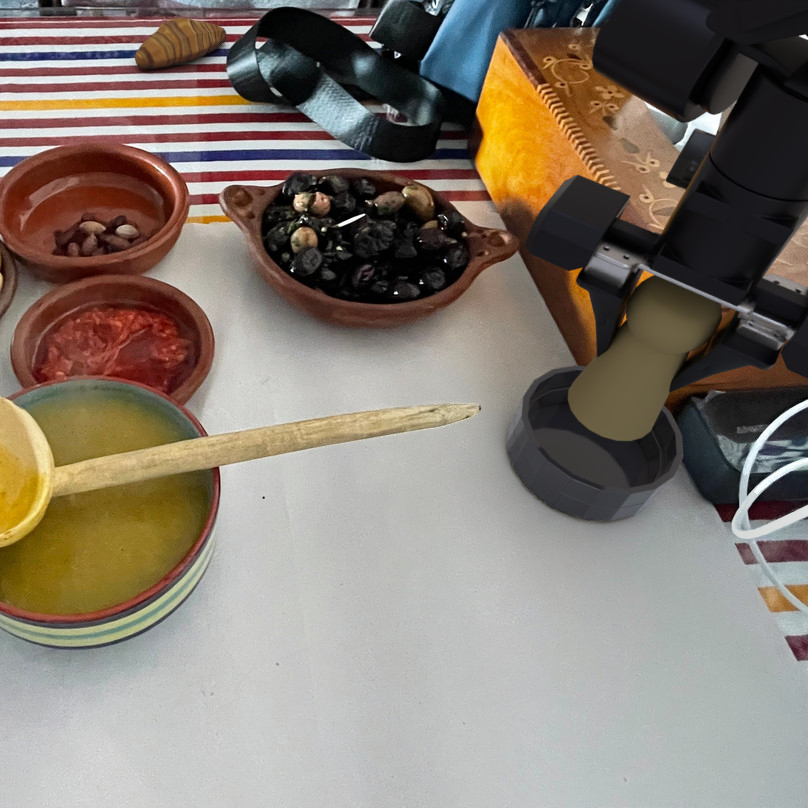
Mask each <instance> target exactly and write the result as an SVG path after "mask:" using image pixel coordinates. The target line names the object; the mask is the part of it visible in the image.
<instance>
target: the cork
mask: <svg viewBox="0 0 808 808" xmlns="http://www.w3.org/2000/svg"><path fill="white" fill-rule="evenodd" d="M722 319H723V310H722V304H720V303H718V302H716V301H713V300H711V299H709V298H706V297H704V296H702V295H700V294H697V293H695V292H693V291H690V290H688V289H686V288H683V287H681V286H679V285H677V284H674V283H672V282H670V281H667V280H665V279H663V278H660V277H658V276H656V275H654V274H652V275H651V276H649V277H646V278H645V279H643V280H642V281H641V282H640V283H638V284H637V286H636V288H635V290H634V291H633V293H632V295H631V296H630V298H629V300H628V303H627V307H626V314H625V320H624V321H623V322H622V324H621V326H620V328H619V329H618V331H617V332H616V334H615V336H614V338H613V340H612V343H611V345H610V347H609V349H608V350H607V351H606V352H605V353H603V354H602V355H600V356H599V357H597V354H595V356H594V357H593V358H592V359H591V361H590V362H589V363H588V364H587V365H586V366H587V367H586V368H585V369H584V370H583V371H582V372H581V374H580V375H579V376H578V377H577V378H576V380H575V381H574V382H573V384H572V385H571V387H570V388H569V391H568V402H569V405H570V408H571V411H572V412H573V414H574V415H575V416H576V418H577V419H578V421H580V422H581V423H582V424H583V425H584V426H585V427H587V428H588V429H589V430H591V431H593V432H594V433H596V434H598V435H600V436H602V437H605V438H609V439H613V440H616V441H632V440H636V439H639V438H642V437H644V436H645V435H646V434H648V433H649V432H650V431H651V429H652V427H653V425H654V423H655V421H656V419H657V417H658V415H659V413H660V411H661V409H662V407H663V405H664V406H665V404H666V401H667V399H668V397H669V395H670V393H671V392H669V389H670V384H671V381H672V380H673V378H674V377H675V376H676V374H677V373H678V372H679V371H680V369H681V368H682V367H683V365H684V363H685V361H686V359H687V357H688V355H689V354H690V353H691V352H692V351H693V350H696V349H698V348H699V347H701V346H702V345H704V344H705V343H706V342H708V341H709V340H710V339H711V338H712V337H713V336H714V334H715V333H716V331H717V329H718V327H719V325H720V322H721V320H722Z"/></svg>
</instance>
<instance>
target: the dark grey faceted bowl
mask: <svg viewBox="0 0 808 808" xmlns="http://www.w3.org/2000/svg"><path fill="white" fill-rule="evenodd" d="M586 367H587V365H586V366H585V365H578V364H577V365H569V366H564V367H557V368H554V369H551V370H549V371H547V372H545V373H543V374H542V375H540V376H538V377H537V378H535V379H533V381H532V382H531V384H530V386H529V387H528V388H527V390H526V391H525V392H524V394H523V396H522V398H521V401H520V402H519V404H518V406H517V407H516V410H515V412H514V414H513V416H512V418H511V420H510V422H509V423H508V427H507V437H506V444H505V445H506V450H507V453H508V456H509V460H510V463H511V466H512V468H513V470H514V471H515V472H516V474H517V475H518V477H519V479H520V480H521V481H522V483H523V484H524V486H526V488H527V489H528V490H529V491H530V492H531V493H532V494H534V496H536V497H537V498H539V499H540V500H541V501H542V502H543V503H545V504H547V505H548V506H550V507H552V508H553V509H555V510H558V511H559V512H561V513H564V514H566V515H569V516H571V517H575V518H579V519H584V520H588V521H589V520H590V521H601V522H611V521H617V520H622V519H626V518H630V517H633V516H636V515H637V514H638V513H640V512H641V511H642V510H644V509H646V507H648V506H649V505H650V504H651V503H652V502H654V500H655V499H656V498H657V497H658V495H659V494H660V493H661V492H662V491H663V490H664V489H665V487H666V486H667V485H668V484H669V483H670V482H671V480H672V479H674V477H675V476H676V474H677V472H678V469H679V467H680V465H681V463H682V462H683V461H682V460H683V458H684V447H683V435H682V432H681V430H680V428H679V426H678V424H677V423H676V420H675V418H674V416H673V414H672V412H671V411H670V410H669V409H668V408H667V407H666V406H665V404H664V405H663V407H662V409H661V411H660V413H659V415H658V417H657V419H656V421H655V423H654V425H653V427H652V429H651V431H650V432H649V433H648V434H646V435H645V436H644V437H642V438H639V439H636V440H632V441H616V440H613V439H609V438H605V437H602V436H600V435H598V434H596V433H594V432H593V431H591V430H589V429H588V428H587V427H585V426H584V425H583V424H582V423H581V422H580V421H578V419H577V418H576V416H575V415H574V414H573V412H572V411H571V408H570V405H569V402H568V391H569V388H570V387H571V385H572V384H573V382H574V381H575V380H576V378H577V377H578V376H579V375H580V374H581V372H582V371H583V370H584V369H585V368H586Z"/></svg>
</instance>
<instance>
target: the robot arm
mask: <svg viewBox="0 0 808 808" xmlns="http://www.w3.org/2000/svg"><path fill="white" fill-rule="evenodd" d="M802 36H806V37H807V38H808V0H620V1H619V3H618V5H617V6H616V7H615V9H614V10H613V11H612V13H611V15H610V17H609V19H606V20H605V21H604V22H602V24H601V26H600V28H599V30H598V33H597V36H596V37H595V42H594V45H593V48H592V55H591V63H592V68H593V70H594V72H595V74H597V75H598V76H601V77H603V78H604V79H606V80H607V81H609V82H610V83H613V84H614V85H616V86H618V87H619V88H621V89H622V90H625V91H626V92H628V93H630V94H631V95H633V96H634V97H636V98H638V99H640V100H641V101H643V102H644V103H646V104H648V105H650V106H651V107H653V108H655V109H657V110H658V111H659V112H661V113H663V114H664V115H667V116H669V117H670V118H672V119H673V120H675V121H677V122H679V123H681V124H686V123H687V124H688V123H690V122H694V121H695V120H697V119H699V118H700V117H701V116H703V115H705V114H706V113H708V114H709V115H713V116H717V115H719V114H721V113H723V112H725V111H726V110H728V109H729V108H730V107H732V108H731V111H730V112H729V113H728V116H727V117H726V119H725V120H724V122H723V124H722V126H721V127H720V129H719V130H718V133H717V135H716V134H713V133H711V132H709V131H706V130H702V129H700V128H697V127H696V128H694V129H693V131H692V132H691V133H690V135H689V137H688V139H687V140H686V143H685V144H684V146H683V147H682V149H681V151H680V153H679V154H678V156H677V158H676V160H675V161H674V163H673V165H672V167H671V169H670V170H669V172H668V173H667V176H666V178H665V182H666V183H667V184H670V185H673V186H675V187H678V188H681V189H683V190H685V191H684V192H683V194H682V196H681V197H680V199H679V201H678V203H677V205H676V206H675V208H674V209H673V211H672V213H671V215H670V216H669V218H668V220H667V223H666V224H665V226H664V227H663V229H662V230H661V232H657V231H651V230H649V229H646V228H644V227H641V226H639V225H636V224H635V223H631V222H629V221H628V220H625V219H622V218H621V217H622V216H623V215H624V212H625V211H626V209H627V206H629V205H628V204H629V203H630V199H631V195H630V194H627V193H625V192H622V191H620V190H617V189H615V188H613V187H610V186H608V185H605V184H603V183H600V182H598V181H595V180H593V179H591V178H587V177H585V176H583V175H581V174H576V175H573V176H571V177H569V178H567V179H565V180H564V181H563V182H562V183H561V185H559V187H558V188H557V189H556V191H555V192H554V193H553V194H552V196H550V198H549V199H548V200H547V202H546V203H545V204H544V205H543V206H542V207H541V209H540V210H539V211H538V214H537V216H536V217H535V219H534V220H533V223H532V225H531V228H530V230H529V232H528V235H527V236H526V237H527V238H526V240H525V243H524V247H525V248H526V250H527V252H528V254H530V255H532V256H535V257H536V258H539V259H541V260H543V261H545V262H548V263H550V264H552V265H554V266H557V267H559V268H561V269H563V270H566V271H568V272H571V271H576V270H578V269H579V272H578V273H577V276H576V278H575V284H576V285H577V286H578V287H579V288H581V289H583V290H585V291H586V292H588V297H589V300H590V304H591V307H592V313H593V317H594V324H595V340H596V341H595V344H596V345H595V346H596V355H597V357H599V356H600V355H602V354H603V353H605V352H606V351H607V350H608V349H609V347H610V345H611V343H612V340H613V338H614V336H615V334H616V332H617V331H618V329H619V328H620V326H621V325H622V324H623V323H624V319H625V318H626V307H627V303H628V300H629V298H630V296H631V295H632V293H633V291H634V290H635V288H636V287H637V286H638V285H639V281H640V279H641V277H642V275H643V273H644V271H645V272H647V273H649V274H651V275H656V276H658V277H660V278H663V279H665V280H667V281H670V282H672V283H674V284H677V285H679V286H681V287H683V288H686V289H688V290H690V291H693V292H695V293H697V294H700V295H702V296H704V297H706V298H709V299H711V300H713V301H716V302H718V303H720V304H721V305H723V306H725V307H727V308H730V309H729V310H727V312H726V314H725V315H724V316H723V317H722V319H721V322H720V325H719V327H718V329H717V331H716V333H715V334H714V336H713V337H712V338H711V339H710V340H709V341H708V342H706V343H705V344H704V345H702V346H701V347H699V348H698V349H696V350H693V351H690V353H689V355H688V357H687V359H686V361H685V363H684V365H683V367H682V368H681V369H680V371H679V372H678V373H677V374H676V376H675V377H674V378H673V380H672V381H671V384H670V389H669V392H670V393H673V392H675V391H677V390H680V389H682V388H684V387H687V386H689V385H692V384H694V383H697V382H699V381H701V380H705V379H707V378H709V377H712V376H715V375H719V374H723V373H727V372H729V371H730V372H731V371H733V370H737V369H741V368H745V367H749V366H750V367H754V368H757V369H759V370H762V371H767V370H770V369H772V368H773V367H774V366H775V365H776V363H777V362H778V359H779V357H780V355H781V357H782V360H783V362H784V364H785V367H786V370H787V371H790V372H792V373H795V374H797V375H799V376H801V377H804V378H805V379H808V286H806V285H803V284H802V283H801V284H800V283H799V282H796V281H794V280H791V279H789V278H787V277H784V276H782V275H779V274H775V273H768V271H769V270H770V268H771V267H772V266H773V264H774V263H775V262H776V261H777V259H778V258H779V256H780V255H781V254H782V253H783V251H784V250H785V249H786V247H787V246H788V244H789V243H790V241H792V239H793V237H795V235H796V233H797V232H798V231H799V229H800V228H801V227H802V226H803V224H804V223H805V222H806V220H807V219H808V39H806V38H805V37H802Z"/></svg>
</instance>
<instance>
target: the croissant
mask: <svg viewBox="0 0 808 808" xmlns="http://www.w3.org/2000/svg"><path fill="white" fill-rule="evenodd" d="M227 37H228V35H227V31H226V30H225V28H224V27H222V26H220V25H218V24H216V23H215V24H214V23H210V22H205V21H198V20H194V19H190V18H185V17H176V18H175V17H174V18H171V19H169V20H167V21H165V22H163V23H162V24H160V26H159V27H158V28H157V30H156V31H154V32H153V33H152V34H150V36H148V38H146V40H144V41H143V43H141V45H140V46H139V48H138V49H137V51H136V52H135V55H134V61H135V65H136V66H137V67H138V68H139V69H143V70H153V69H162V68H168V67H172V66H176V65H182V64H186V63H191V62H192V63H193V62H194V61H196V60H198V59H201V58H203V57H204V56H206V55H208V54H210V52H211V53H213V52H215V51H216V50H217V49H219V48H220V47H221V46H222V45H223V44H224V43H226V41H227ZM222 43H223V44H222ZM221 44H222V45H221ZM220 45H221V46H220ZM219 46H220V47H219ZM218 47H219V48H218ZM216 48H217V49H216ZM215 49H216V50H215ZM212 51H213V52H212ZM207 53H208V54H207Z"/></svg>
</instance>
